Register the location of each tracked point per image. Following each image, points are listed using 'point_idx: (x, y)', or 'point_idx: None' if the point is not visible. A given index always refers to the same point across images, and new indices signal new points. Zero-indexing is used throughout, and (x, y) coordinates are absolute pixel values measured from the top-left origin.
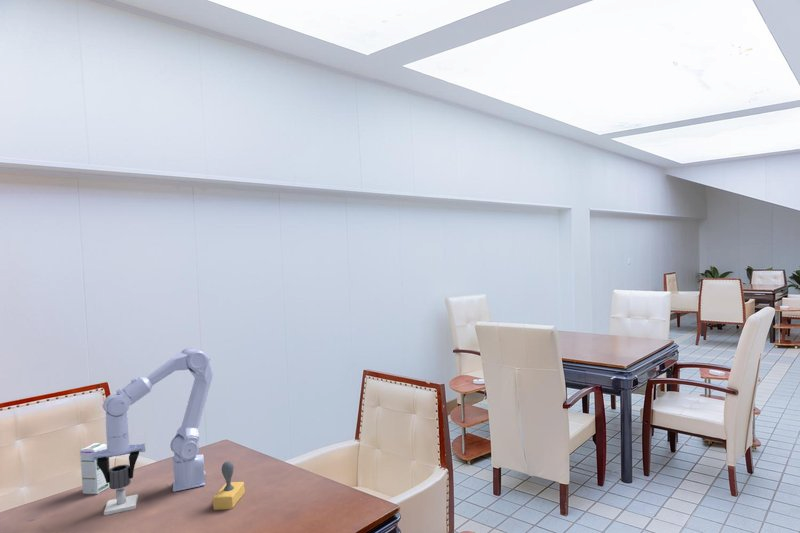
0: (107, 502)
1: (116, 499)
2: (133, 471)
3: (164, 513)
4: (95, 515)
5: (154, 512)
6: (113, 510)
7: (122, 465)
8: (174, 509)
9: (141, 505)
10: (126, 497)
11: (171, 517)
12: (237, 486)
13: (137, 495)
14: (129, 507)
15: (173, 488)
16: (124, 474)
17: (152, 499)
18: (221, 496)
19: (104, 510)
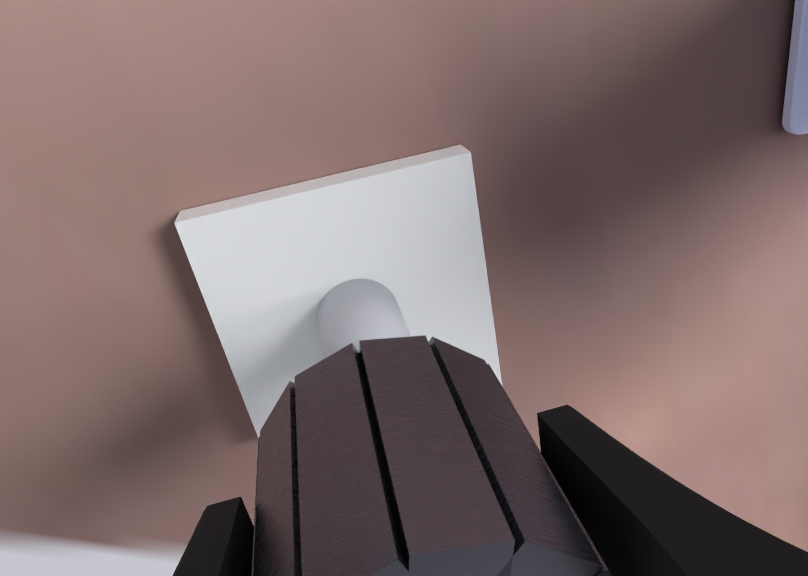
0: (194, 273)
1: (268, 222)
2: (611, 445)
3: (701, 465)
4: (179, 418)
5: (640, 444)
6: None
7: (474, 573)
8: (761, 427)
9: (530, 323)
10: (367, 201)
11: (738, 512)
12: None
13: (472, 174)
14: None
15: (800, 80)
16: None
17: (606, 230)
18: None
19: (254, 427)
